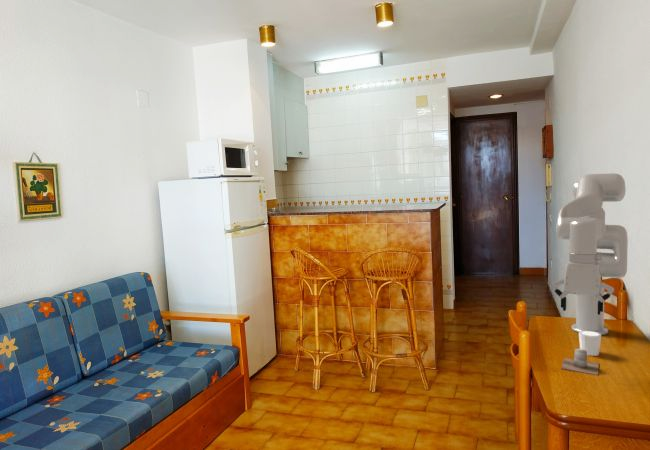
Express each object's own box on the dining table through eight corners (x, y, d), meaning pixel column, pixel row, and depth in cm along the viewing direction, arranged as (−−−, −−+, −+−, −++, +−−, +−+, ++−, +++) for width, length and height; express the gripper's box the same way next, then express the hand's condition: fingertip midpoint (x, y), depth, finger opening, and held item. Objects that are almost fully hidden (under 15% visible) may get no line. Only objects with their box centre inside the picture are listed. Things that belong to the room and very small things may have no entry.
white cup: (604, 356, 155) (604, 336, 154) (582, 355, 156) (582, 336, 155) (596, 349, 161) (596, 330, 161) (575, 348, 163) (575, 329, 162)
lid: (564, 360, 154) (564, 343, 153) (598, 365, 149) (599, 348, 148) (561, 370, 146) (561, 353, 145) (597, 377, 140) (598, 358, 140)
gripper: (614, 258, 143) (613, 312, 144) (553, 255, 152) (552, 305, 153) (615, 262, 136) (613, 318, 138) (550, 258, 146) (550, 311, 147)
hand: (581, 311), depth 145 cm, fingers open, 9 cm apart
